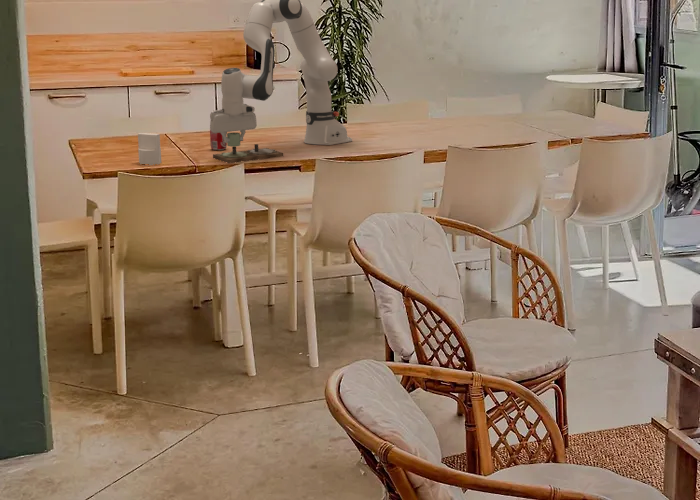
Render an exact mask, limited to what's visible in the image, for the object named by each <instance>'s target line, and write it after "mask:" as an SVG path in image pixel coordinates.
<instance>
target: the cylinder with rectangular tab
mask: <svg viewBox="0 0 700 500" xmlns="http://www.w3.org/2000/svg"><path fill="white" fill-rule="evenodd" d="M160 135H161V134H160V133H150V132H139V133H137V142H138V148H137V150H138V151H137V152H138V164H139V163H140V164H139V165H141V164H149V165H148V166H156V165H155V164H157V165H160V163H161V164H162V149H161V136H160ZM153 164H154V165H153Z"/></svg>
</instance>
